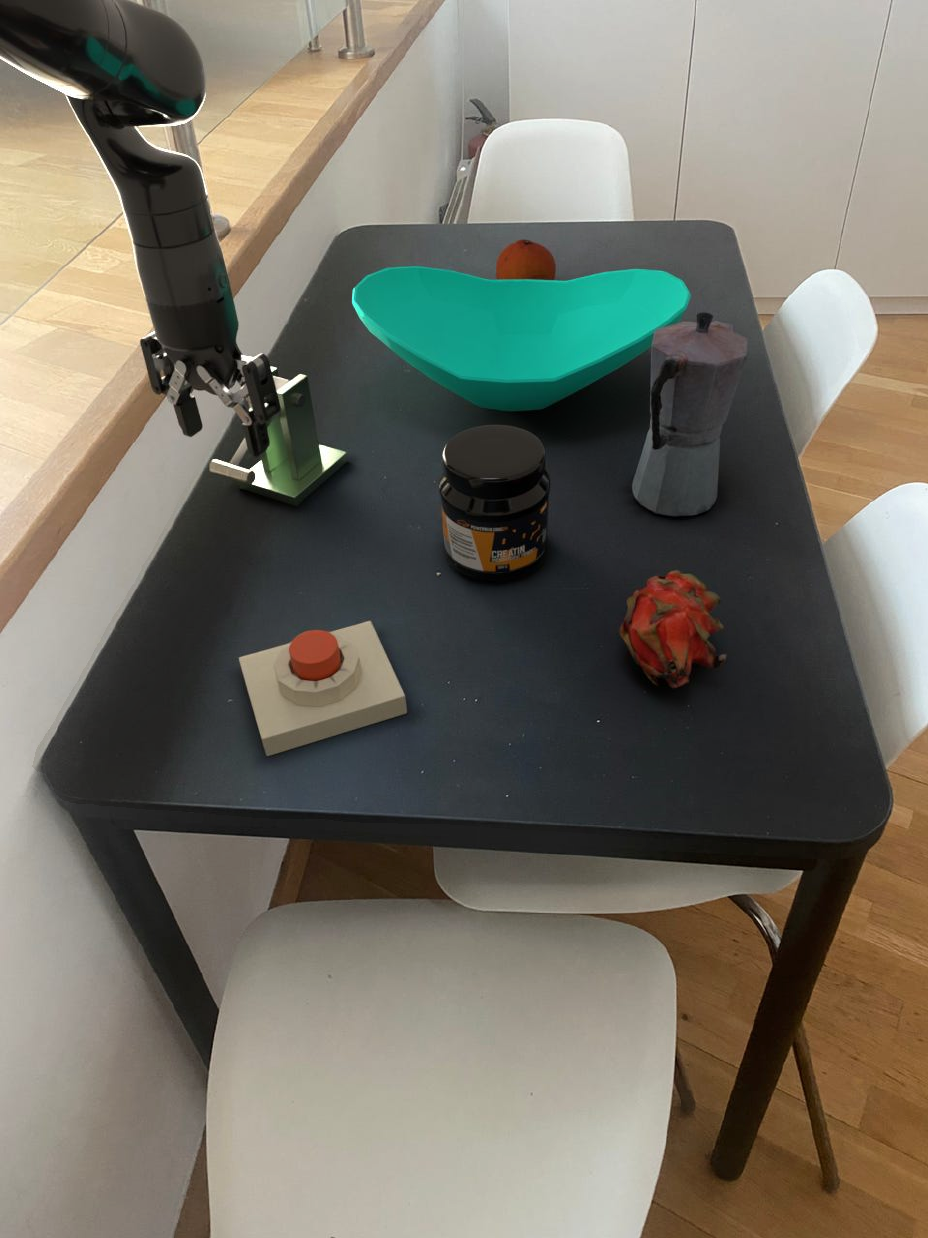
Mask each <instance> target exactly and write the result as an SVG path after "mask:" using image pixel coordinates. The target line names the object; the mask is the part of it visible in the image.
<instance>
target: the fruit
mask: <svg viewBox="0 0 928 1238" xmlns="http://www.w3.org/2000/svg"><path fill="white" fill-rule="evenodd" d="M556 273H557V268H556V260H555V259H554V256H553V254H552V252H551V251H550V250H549V249H548V248H546V247H545V246H544V245H542V244H540V243H538V242H534V241H531V240H530V239H518V240H516V241H515V242H513V243H510V244H509V245H507V246H506V247H504V249H503V250H501V252H500V253H499V255H498V258H497V260H496V264H495V276H496V277H495V278H496V280H513V279H531V280H556V279H555V278H556Z"/></svg>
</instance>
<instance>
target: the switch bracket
mask: <svg viewBox="0 0 928 1238" xmlns="http://www.w3.org/2000/svg"><path fill="white" fill-rule="evenodd" d="M270 367H271V370H272V374H273V376H275V377H279V378H280V375H279V369H278V368H277V367H274V366H271V365H270ZM289 381H290V382H288V383H287V384H286V385H284V386H283V387H282V388H280V389H279V390H277V394H278V398H279V402H280V406H281V411H280V412H279V413H277V414H276V415H275V416H274V418H273V419H272V421H271V423H270V424H269V426H268V428H267V430H268V435H269V440H270V445H269V446H268V448H267V450H266V451H264V452H263V453H262V454H261V455H259V457H260V461H258V462H257V463H256V464H255V465H253V466H252V467H251V468H249V470H252V471H254V472H255V474H256V478H255V481H254V482H253V483H252V484H247V483H244V482H240V481H237V485H238V488H239V489H241V490H244V491H247V492H250V493H253V494H256V495H258V496H262V497H266V498H269V499H272V500H276V501H279V502H281V503H284V504H288V505H291V506H294V507H298V506H299V505H300V504H301V503H302V502H303V501H305V500H306V499H307V498H308V497H309V496H310V495H311V494H313V492H314V491H316V490H317V489H318V488H319V487H320V486H321V485H322V484H323V483H325V482H326V481H327V480H328V479H329V478H331V476H333V475H334V474H335V473H337V472H338V471H339V470H340V469H341V468H342V467H343V466H345V464H347V462H348V461H349V457H348V452H347V451H343V450H340V449H337V448H333V447H330V446H326V445H322V444H320V443H319V437H318V430H317V425H316V418H315V413H314V407H313V401H312V396H311V395H312V394H311V388H310V383H309V377H308V375H305V374H302V373H299V374H297V376H295V377H294V378H293V379H291V380H289ZM247 402H248V401H247ZM264 404H265V403H264ZM248 407H249V409H251V408H252V406H251V405H250V404H249V402H248Z"/></svg>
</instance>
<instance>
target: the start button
mask: <svg viewBox="0 0 928 1238" xmlns="http://www.w3.org/2000/svg"><path fill="white" fill-rule="evenodd" d="M329 632H330V631H327V630H323V629H312V630H311V629H310V630H307V631H304V632H302V633H300V634H298V635H296V637H294V638H293V639H292V641H290V642H291V644H290V647H289V653H290V658H291V662H292V666H293V670H294V672H295V674H296V675H297V676H299V677H300V678H302V679H304V680H309V681H318V680H323V679H326V678H328V677H330V676H332V675H333V674H334V673H335V672H336V671H337V670H338V669H339V667H340V664H341V658H340V652H339V647H338V642H337V639H336V638H335V636H334V635H333V634H331V633H329Z"/></svg>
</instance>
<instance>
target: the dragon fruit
mask: <svg viewBox="0 0 928 1238" xmlns="http://www.w3.org/2000/svg"><path fill="white" fill-rule="evenodd" d="M721 602H722V599H721V598H720V596H719V595H718V594H717V593H716V592H715V591H710V590H707V584H706V583H705V582H704V581H702V580H699V579H698V577H697V576H695V575H694V574H692V573H683V572H682V571H681V570H680V569H674V570H671V571H669V572H667V574H666V575H665V576H664V575H654V576H651V577H649V578H648V579H647V580H646V586H645V587H643V588H642V589H640V590H637V589H635V590H634V592H633V595H631V596H629V597H628V598H627V599H626V605H627V610H626V614H625V617H624V620H623V622H622V623H621V625H620V626H619V635H620V637H621V639H622V640H623V641H624V643H625V645H626V646H627V648H628V651H629V653H630V654H631V657H632V658H633V660H634V662H635V663H634V664H636V665H637V666H640V667H641V668H642V672H643V674H644V675H646V677H647V678H648V679H649V680H650V681H651V683H652V684H653V685H654V686H657V687H660V684H659V679H663V680H665V681H666V682H667V685H668V686H669V687H670V688H672V689H677V688H679V687H681V686H683V685H686V684H688V683H690V682H691V680H690V679H689V676H690V674H691V671H692V664H696V665H699V666H701V667H702V668H703V669H706V670H707V669H716V668H720V667H721V666H722V665H723V664H724V662H726V659H727V653H721V654H720V655H716V651H717V650H716V647H715V646H714V645H713V644H712V643H711V642H710V641H709V640H708V639H709V637H710V636H712V635H714V634H716V633H718V632H720V631H723V630H724V625H723V624H722V623H721V622H720V619H718V618H716V617H713V616H712V615H710V613H711V612H712V611H713V610H714V609H715V608H716V607H718V605H719V604H720V603H721Z"/></svg>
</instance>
